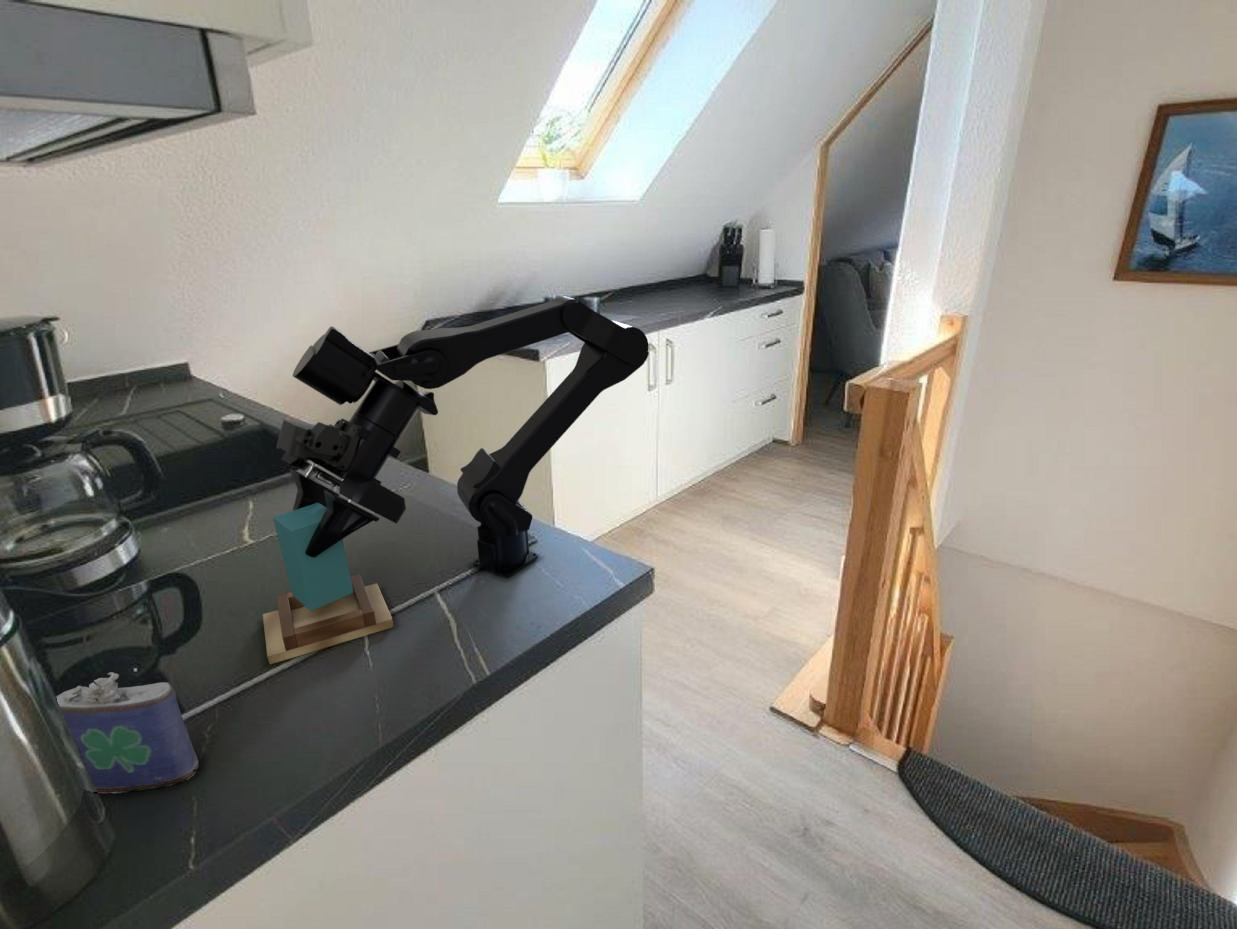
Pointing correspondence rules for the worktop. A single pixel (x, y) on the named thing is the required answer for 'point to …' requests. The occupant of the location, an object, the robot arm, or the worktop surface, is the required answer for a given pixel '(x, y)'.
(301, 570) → the teal rectangular block
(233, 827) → the worktop surface
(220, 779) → the worktop surface
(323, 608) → the socket pad
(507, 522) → the robot arm
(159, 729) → the flask
